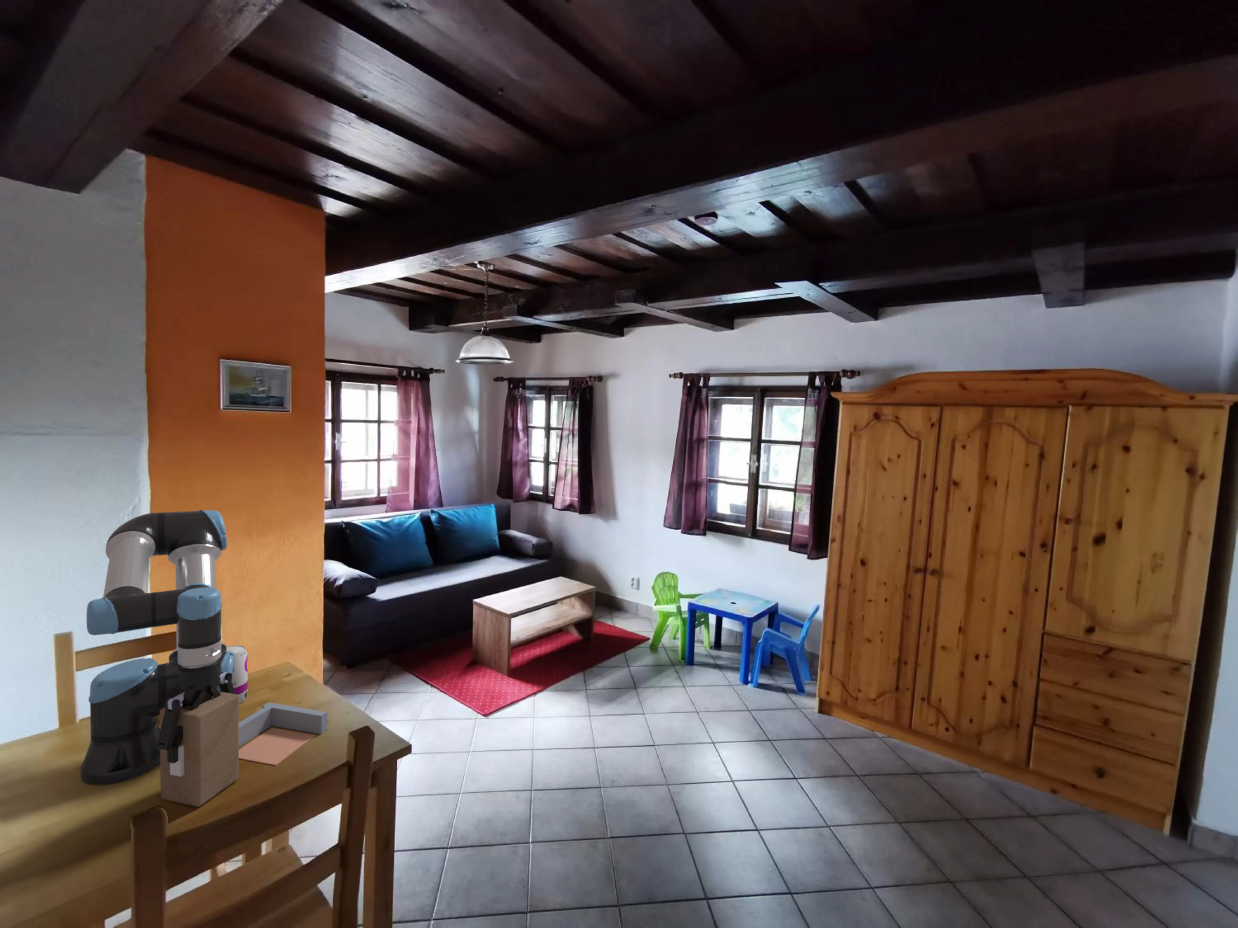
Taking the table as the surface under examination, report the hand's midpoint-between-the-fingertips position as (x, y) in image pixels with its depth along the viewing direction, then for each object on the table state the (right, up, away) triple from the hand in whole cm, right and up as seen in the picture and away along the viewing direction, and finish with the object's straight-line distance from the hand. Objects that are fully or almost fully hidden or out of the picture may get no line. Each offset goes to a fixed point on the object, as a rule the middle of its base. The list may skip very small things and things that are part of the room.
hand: (200, 759), depth 122 cm
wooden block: (0, -7, +1) cm, 7 cm away
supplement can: (-20, -3, +38) cm, 42 cm away
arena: (+4, -6, +18) cm, 20 cm away
